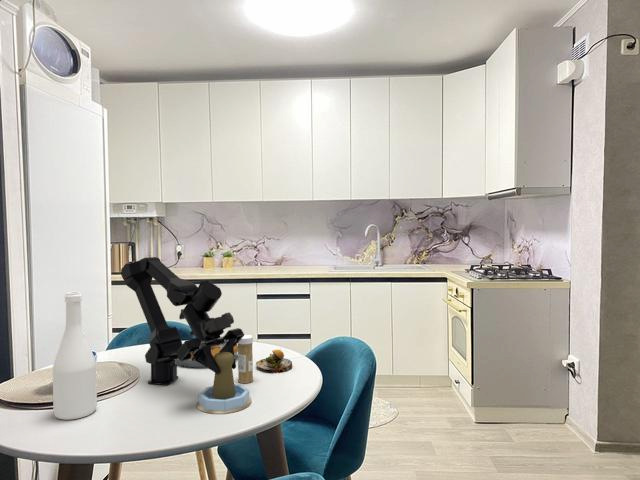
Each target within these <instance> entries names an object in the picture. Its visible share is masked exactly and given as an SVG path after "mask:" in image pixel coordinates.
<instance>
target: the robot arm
mask: <svg viewBox="0 0 640 480" xmlns="http://www.w3.org/2000/svg"><path fill="white" fill-rule="evenodd" d="M120 276H121V277H122V279H123V281H124V283H125V285H126V287H128V288H129V289H131V290H132V291H133V292H134V293H135V295H136V297H137V300H138V303H139V305H140V308H141V310H142V312H143V315H144V318H145V319H146V323H147V324H148V327H149V330H150V332H151V334H150V338H149V343H148V344H149V346H150V347H149V348H148V350H147V352H146V353H145V354H144V359H145V362H146V363H147V364H150V380H149V381H148V382H147V383H148V384H149V385H150V384H152V385H165V386H167V385H170V384H171V383H173V382H175V381H176V380H177V379H179V376H178V364H176V360H178V359H179V360H180V361H181V362H182V361H185V360H189V359H190V358H191V353H193V356H194V357H193V358H192V361H196V362H198V363H200V364H202V365H204V366H206V367H205V368H207V369H209V370H210V371H212V372H213V373H214V374H215V373H216V374H219V373H220V369H219V367H218V365H217V363H216V361H215V359H214V357H213V355H212V353H211V347H214V346H218V345H219V346H220V348H221V350H220V352H230V353H232V354H233V356H234V346H236V345H238V342H239V341H240V340H241V339H242V338H243V336H244V335H245V332H244V331H243V329H242V328H239V327H237V328H233V329H229V330H227V332H226V333H225V330H226V329H228V328H232V324H234V322H235V319H234V317H233V315H232V314H231V312H230V311H229V312H225V313H224V314H221V316H217V317H210V315H209V314H208V312H210V311H211V310H213V308H214V307H215V305H216V304H217V303H218V301H219V300H220V298H221V297H222V295H223V293H222V290H221V288H220V287H219V286H217V285H216V284H215V283H212V282H210V281H209V280H208V279H204V280H201V281H200V283H199V285H198V286H197V285H196V284H195V283H193V282H191V281H190V280H187V279H183V278H180V277H179V276H178V275H177V274H175V273H174V272H173V271H172V270H171V269H170V268H168V267H167V265H165V264H164V263H163V262H162V261H161V259H160V258H159V257H157V256H151V257H143V258H141V259H140V260H137V261H134V262H129V263H128V262H127V263H125V264H124V265H123V267H122V268H121V269H120ZM153 279H154V280H155V281H156V282H157V283H158V284H159V285H160V286H161V287H162V288H163V289H164V290H165V291H166V297H167V299H168V300H169V302H170V303H171V304H172V305H173V306H175V307H180V306H185V307H184V308H183V309H180V313H179V320H186V323H187V324H188V326H189V328H190V330H191V331H190V332H189V334H190V336H191V337H195V338H192V339H188V340H184V342H183V341H182V337H181V335H180V333H179V330H178V328H177V327H176V326H173V327H171V326H170V325H168V323H167V320H166V318H165V315H164V313H163V311H162V308H161V306H160V304H159V301H158V299H157V295H156V294H155V291H154V289H153V287H152V282H153ZM224 333H225V334H224ZM223 334H224V336H221V335H223ZM220 352H219V353H220ZM236 368H237V364H236V357H235V356H234V362H233V364H232V370H235V369H236Z"/></svg>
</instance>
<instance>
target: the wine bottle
mask: <svg viewBox="0 0 640 480" xmlns="http://www.w3.org/2000/svg"><path fill="white" fill-rule="evenodd" d="M82 297H83V296H82V294H81V291H68V292H65V294H64V303H65V328H64V333H63V335H62V339H61V341H60V345H59V348H58V350H57V353H56V356H55V358H54V362H53V366H52V401H53V403H52V404H53V405H52V406H53V409H52V410H53V415H54V417H55V418H56V419H59V420H65V421H66V420H67V421H69V420H71V421H72V420H78V419H81V418H84V417H87V416H90V415H91V414H93V413H94V412H95V411H96V409H97V407H98V399H97V398H98V391H97V389H98V386H97V385H98V383H97V382H98V381H97V380H98V379H97V361H96V358H95V355H94V353H93V351H92V348H91V346H90V343H89V341H88V339H87V335H86V333H85V330H84V327H83V323H82V305H81V304H82V303H81V302H82V301H83V300H82Z"/></svg>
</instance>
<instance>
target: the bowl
mask: <svg viewBox="0 0 640 480" xmlns="http://www.w3.org/2000/svg"><path fill="white" fill-rule="evenodd" d="M234 386H235V396H233V397H231V398H227V399H217V398H214V397H212V392H213V385H212V386H211V385H210V386H207V387H205V388H204V389H203V390H202V391H200V392H199V393H198V400H199V404H200V405H201V406H202V407H203V408H204V409H205V410H212V411H229V410H233V409H237V408H240V407H244V405H245V404H246V403H247V402H248V401H249V396H250V389H249V388H247V387H245V386H244V385H242V384H237V383H234Z"/></svg>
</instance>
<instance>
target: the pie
mask: <svg viewBox="0 0 640 480" xmlns="http://www.w3.org/2000/svg"><path fill="white" fill-rule="evenodd" d="M220 350H221V348H220V346H219V345H218V346H214V347H211V353H212V355H213V357H214V356H215V355H216V354H217V353H219V352H220ZM234 356H235V358H236V356H238V344H237V345H236V346H234ZM193 357H194V356H193V353H191V358H190V359H189V360H185V361H182V362H181V361H180V360H179V359H177V361H178V363H179V364H180V365H181V366H183V367H187V368H196V369H197V368H199V369H201V368H202V369H203V368H207V367H206V366H204V365H202V364H200V363H198V362H196V361H192V358H193Z"/></svg>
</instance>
